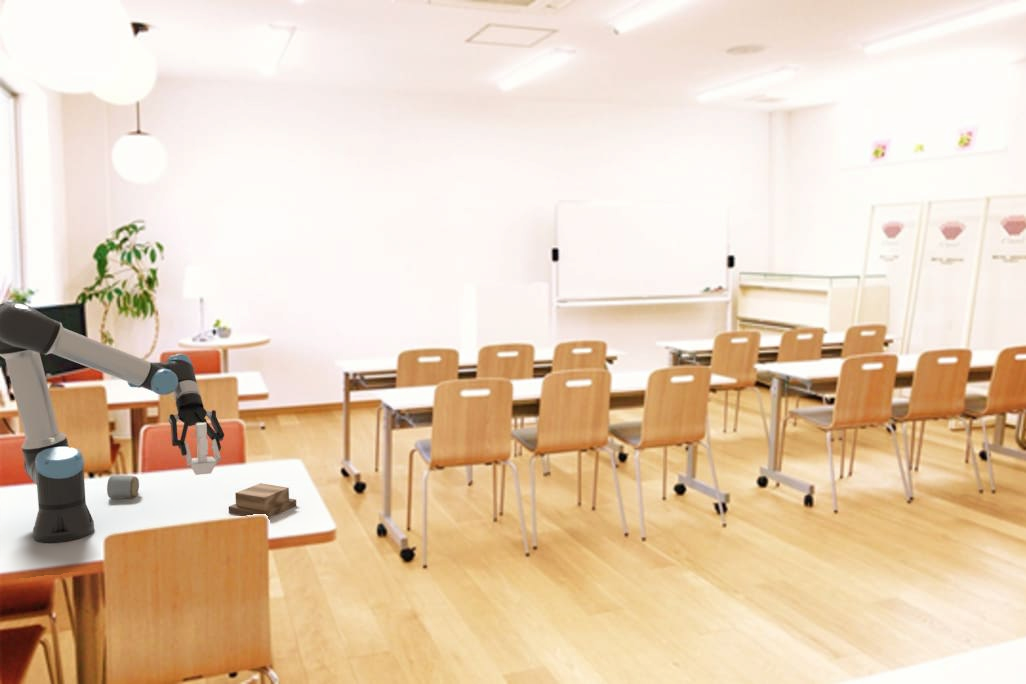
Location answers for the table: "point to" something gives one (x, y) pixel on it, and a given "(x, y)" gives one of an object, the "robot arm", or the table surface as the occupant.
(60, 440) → the robot arm
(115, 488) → the ceramic mug
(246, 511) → the walnut plinth
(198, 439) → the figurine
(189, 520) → the table surface
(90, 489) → the table surface
